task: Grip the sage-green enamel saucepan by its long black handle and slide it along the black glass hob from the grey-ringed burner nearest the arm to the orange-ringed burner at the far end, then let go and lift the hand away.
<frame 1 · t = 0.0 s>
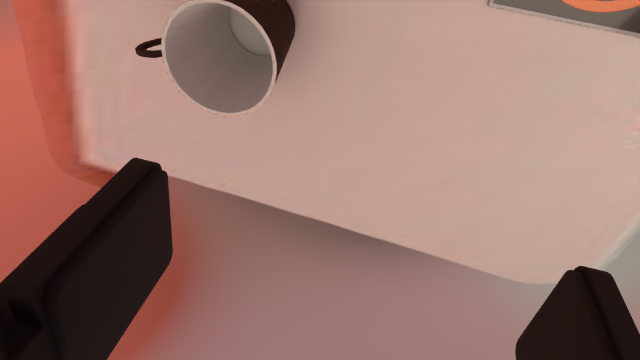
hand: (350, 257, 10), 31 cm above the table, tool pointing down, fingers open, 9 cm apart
coffee mug: (245, 15, 40), on the table
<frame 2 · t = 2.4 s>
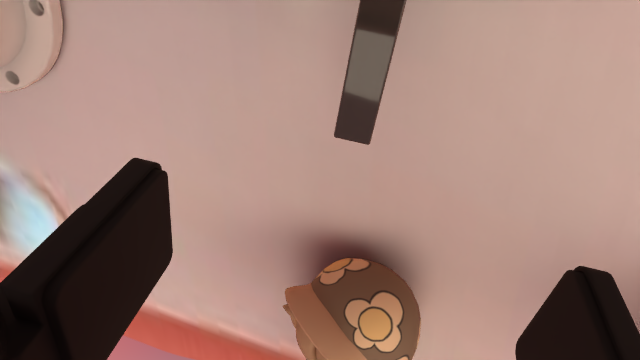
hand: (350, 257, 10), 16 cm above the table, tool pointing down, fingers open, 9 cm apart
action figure: (355, 302, 35), on the table
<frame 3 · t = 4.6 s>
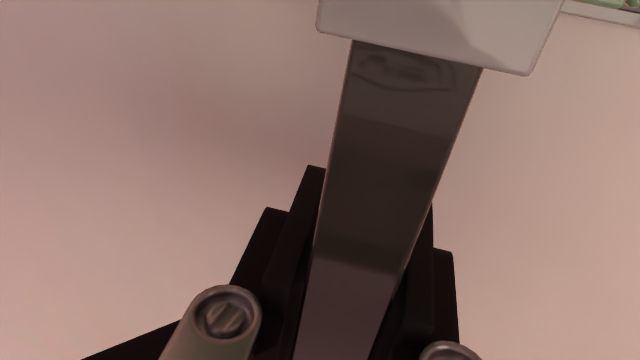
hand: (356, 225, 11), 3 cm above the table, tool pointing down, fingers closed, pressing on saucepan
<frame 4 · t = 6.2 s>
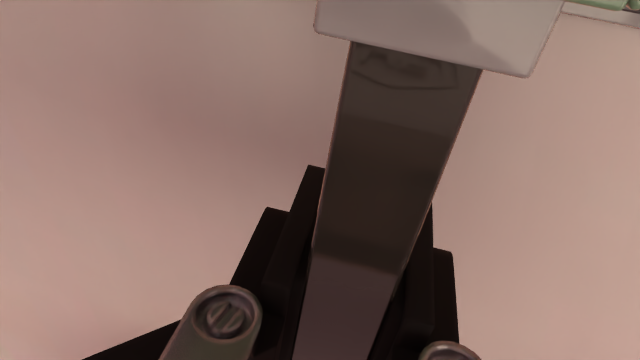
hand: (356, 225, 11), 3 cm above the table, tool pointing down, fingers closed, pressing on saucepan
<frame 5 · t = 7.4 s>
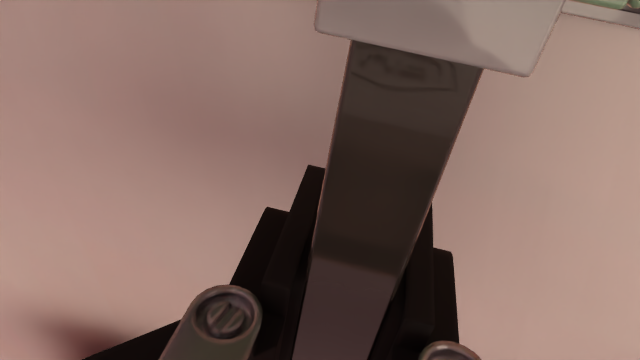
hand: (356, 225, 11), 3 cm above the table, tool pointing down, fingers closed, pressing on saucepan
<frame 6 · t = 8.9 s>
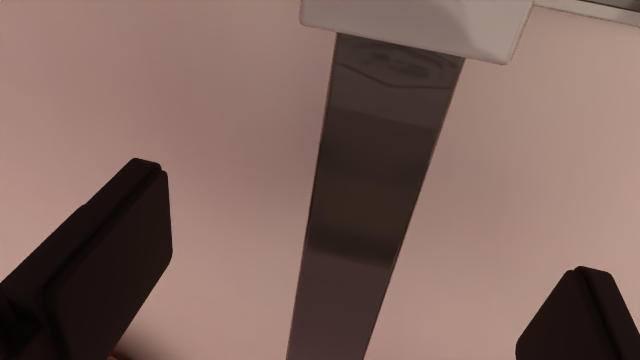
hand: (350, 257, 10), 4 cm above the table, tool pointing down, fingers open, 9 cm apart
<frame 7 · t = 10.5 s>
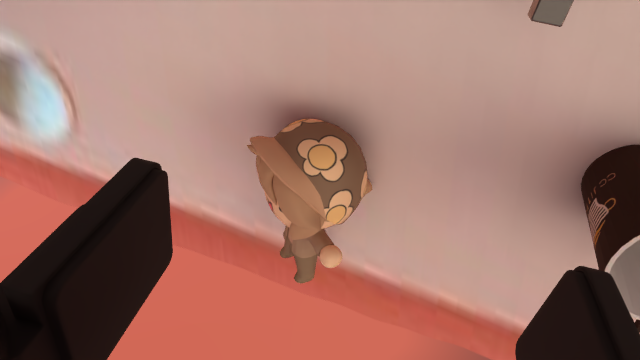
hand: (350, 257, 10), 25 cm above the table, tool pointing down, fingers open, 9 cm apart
coffee mug: (612, 193, 35), on the table
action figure: (318, 178, 40), on the table
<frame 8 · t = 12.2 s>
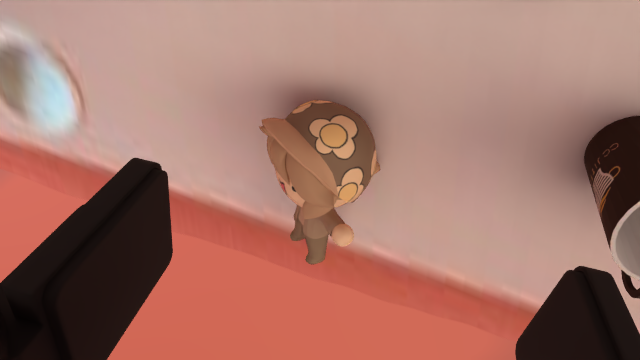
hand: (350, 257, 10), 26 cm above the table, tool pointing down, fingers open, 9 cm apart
coffee mug: (614, 165, 36), on the table
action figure: (326, 161, 41), on the table
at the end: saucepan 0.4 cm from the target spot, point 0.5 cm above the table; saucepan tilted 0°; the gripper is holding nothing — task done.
